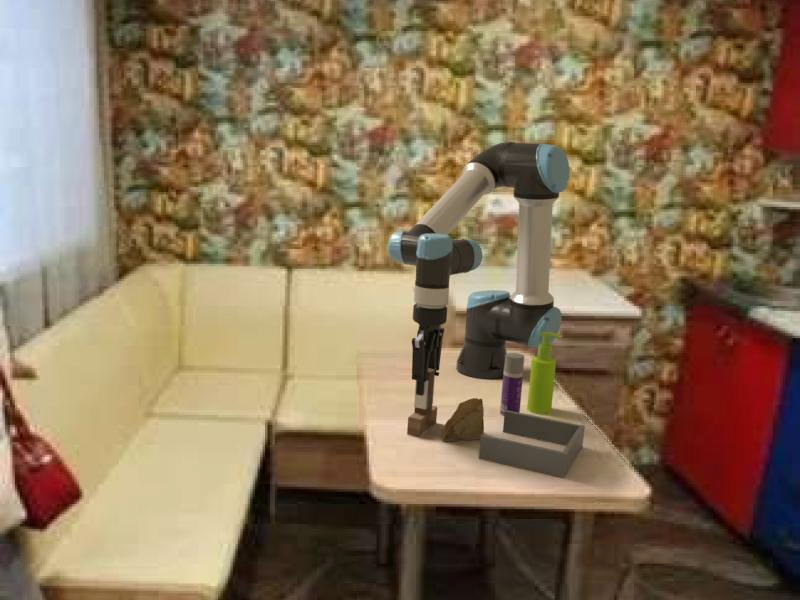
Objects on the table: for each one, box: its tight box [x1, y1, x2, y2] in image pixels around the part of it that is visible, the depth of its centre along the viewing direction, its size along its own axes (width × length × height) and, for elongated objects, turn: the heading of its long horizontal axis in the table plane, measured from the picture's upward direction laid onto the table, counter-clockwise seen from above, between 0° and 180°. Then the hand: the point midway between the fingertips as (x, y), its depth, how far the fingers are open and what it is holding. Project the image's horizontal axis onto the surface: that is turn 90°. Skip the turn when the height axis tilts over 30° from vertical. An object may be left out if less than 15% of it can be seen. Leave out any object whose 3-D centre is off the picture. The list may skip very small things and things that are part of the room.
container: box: [499, 352, 525, 417], centre depth 191 cm, size 5×5×15 cm
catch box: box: [478, 410, 586, 478], centre depth 170 cm, size 18×18×5 cm
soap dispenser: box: [526, 331, 564, 415], centre depth 194 cm, size 6×7×20 cm
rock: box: [439, 397, 485, 442], centre depth 176 cm, size 11×9×10 cm
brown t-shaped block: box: [406, 368, 438, 438], centre depth 179 cm, size 10×3×14 cm, turn 155°
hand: (423, 405), depth 179 cm, fingers closed on brown t-shaped block, 3 cm apart
